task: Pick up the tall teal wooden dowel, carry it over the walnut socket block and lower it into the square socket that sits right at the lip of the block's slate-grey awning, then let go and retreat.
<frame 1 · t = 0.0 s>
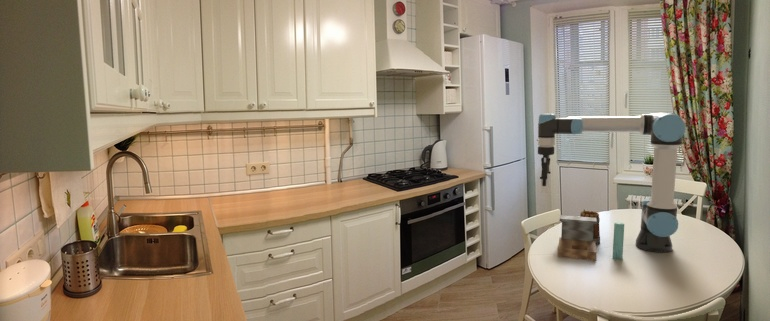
hand: (544, 189, 218), 28 cm above the table, fingers open, 13 cm apart
peg: (617, 257, 203), on the table
mug: (587, 240, 228), on the table
socket block: (576, 252, 211), on the table
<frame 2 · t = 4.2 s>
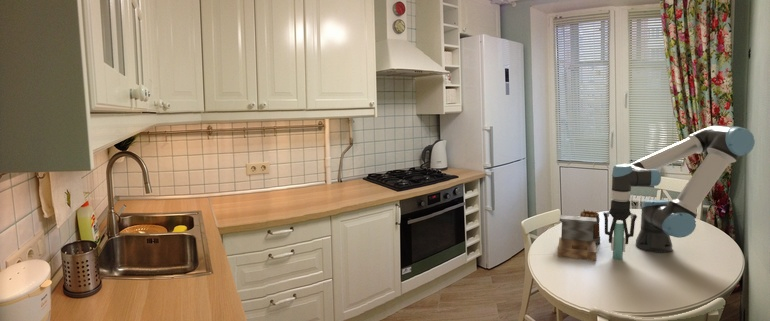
hand: (617, 250, 203), 4 cm above the table, fingers closed on peg, 4 cm apart
peg: (617, 257, 203), on the table, touching gripper
everything else where it was.
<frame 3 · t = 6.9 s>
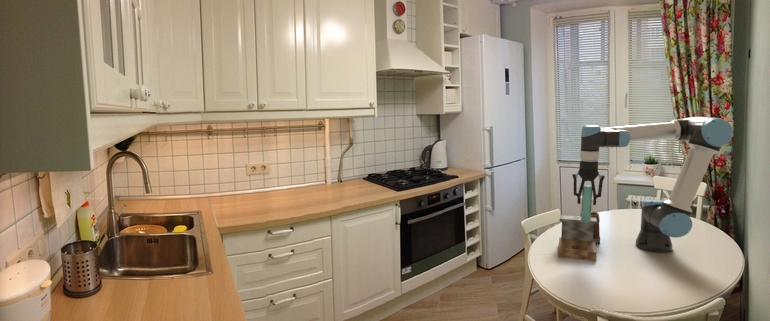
hand: (586, 211, 203), 21 cm above the table, fingers closed on peg, 4 cm apart
peg: (585, 220, 204), point 17 cm above the table, touching gripper
everything else where it was.
when the fingers open (5 cm above the table, at t = 9.9 s): peg stays where it is, resting in socket block.
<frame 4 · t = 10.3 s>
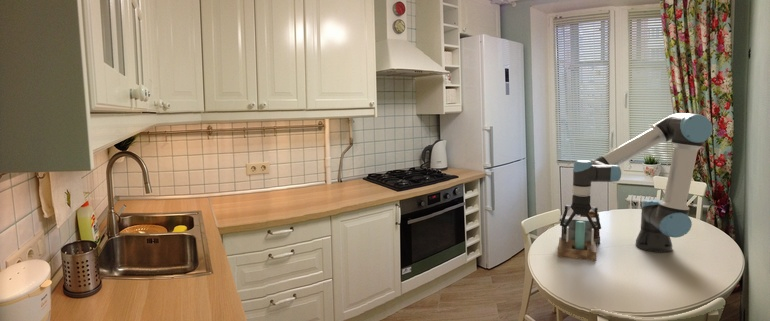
hand: (579, 242, 206), 6 cm above the table, fingers open, 10 cm apart
peg: (579, 255, 207), resting in socket block
everything else where it was.
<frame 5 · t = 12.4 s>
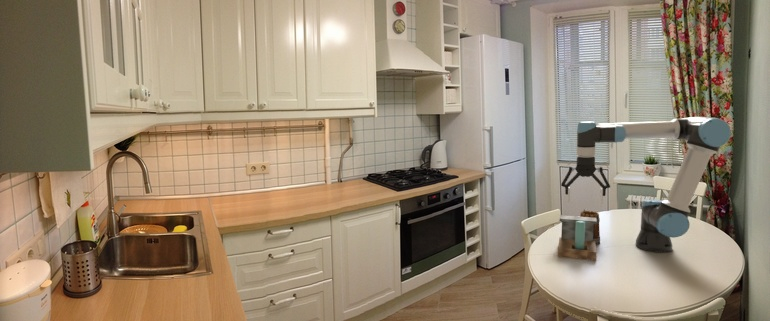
hand: (584, 202, 205), 25 cm above the table, fingers open, 13 cm apart
nothing on the table moved.
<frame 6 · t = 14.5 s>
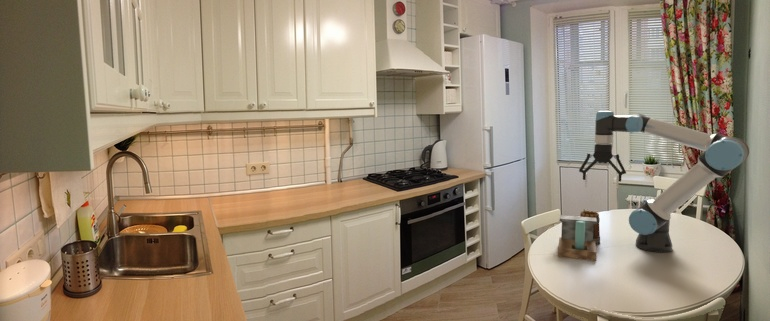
hand: (601, 187, 217), 29 cm above the table, fingers open, 13 cm apart
nothing on the table moved.
at the end: peg 0.0 cm from the target spot on the socket block, point 0.0 cm above the socket block's base; peg tilted 0°; the gripper is holding nothing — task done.
